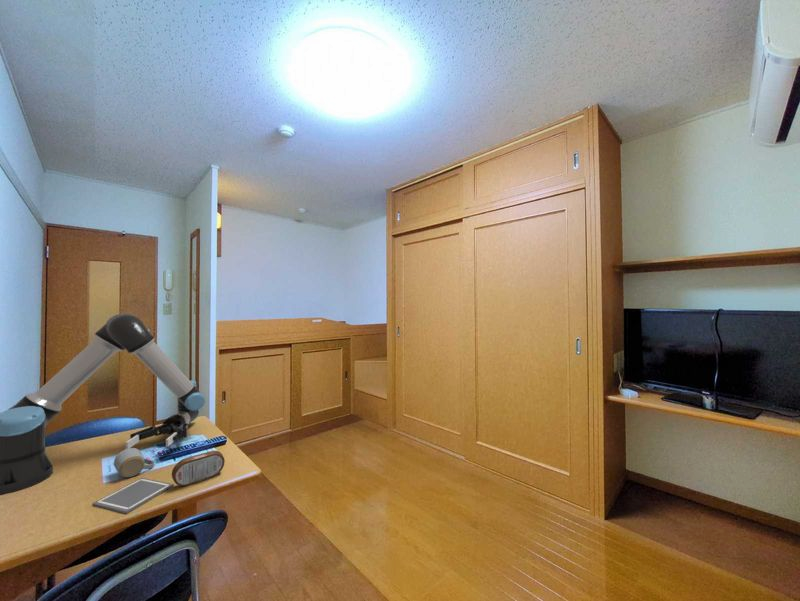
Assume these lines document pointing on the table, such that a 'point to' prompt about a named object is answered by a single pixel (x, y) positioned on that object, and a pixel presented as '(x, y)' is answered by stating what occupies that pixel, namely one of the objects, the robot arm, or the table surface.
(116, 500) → the card
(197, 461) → the tin
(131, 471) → the ceramic mug
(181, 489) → the table surface
